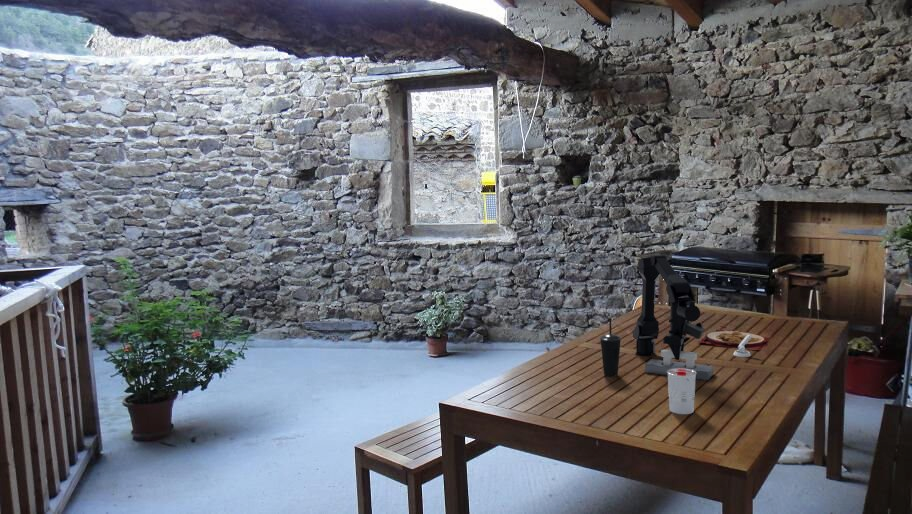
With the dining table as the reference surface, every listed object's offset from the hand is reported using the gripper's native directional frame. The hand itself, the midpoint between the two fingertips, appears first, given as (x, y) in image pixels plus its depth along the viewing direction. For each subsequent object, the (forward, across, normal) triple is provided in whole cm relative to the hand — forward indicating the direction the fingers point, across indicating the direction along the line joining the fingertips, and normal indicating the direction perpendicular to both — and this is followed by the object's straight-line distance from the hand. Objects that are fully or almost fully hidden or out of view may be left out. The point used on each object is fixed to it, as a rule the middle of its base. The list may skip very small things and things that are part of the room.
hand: (678, 358), depth 240 cm
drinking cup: (+6, -12, +21) cm, 25 cm away
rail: (+5, 0, 0) cm, 5 cm away
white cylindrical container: (+6, -39, -11) cm, 41 cm away
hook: (+6, +36, -15) cm, 39 cm away
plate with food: (+6, +59, -9) cm, 60 cm away
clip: (+4, 0, 0) cm, 5 cm away
